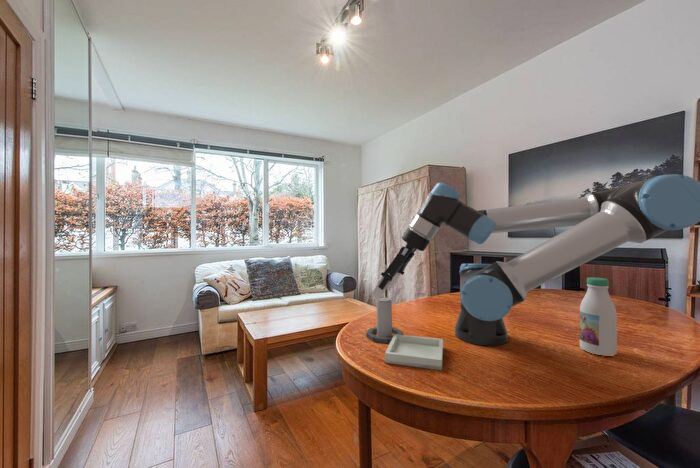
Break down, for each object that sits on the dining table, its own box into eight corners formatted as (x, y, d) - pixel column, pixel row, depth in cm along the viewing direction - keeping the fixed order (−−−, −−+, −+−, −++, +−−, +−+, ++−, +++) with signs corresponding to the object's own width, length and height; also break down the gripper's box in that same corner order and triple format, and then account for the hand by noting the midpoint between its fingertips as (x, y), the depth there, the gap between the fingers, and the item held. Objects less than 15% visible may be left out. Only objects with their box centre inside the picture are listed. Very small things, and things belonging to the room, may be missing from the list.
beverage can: (391, 339, 90) (391, 301, 90) (376, 338, 91) (375, 300, 91) (392, 333, 95) (391, 297, 95) (377, 333, 96) (377, 297, 96)
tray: (443, 347, 83) (443, 338, 83) (441, 370, 70) (441, 360, 70) (394, 342, 88) (394, 334, 88) (385, 362, 75) (384, 353, 75)
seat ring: (404, 331, 96) (404, 328, 96) (398, 344, 86) (398, 340, 86) (372, 328, 100) (372, 325, 100) (363, 340, 89) (363, 336, 89)
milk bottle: (607, 347, 81) (607, 276, 81) (623, 359, 74) (623, 281, 73) (574, 344, 84) (574, 275, 83) (586, 355, 76) (586, 280, 76)
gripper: (414, 227, 96) (381, 279, 100) (400, 225, 73) (357, 293, 77) (434, 239, 94) (399, 291, 98) (426, 242, 71) (381, 310, 75)
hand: (381, 292), depth 88 cm, fingers open, 13 cm apart
